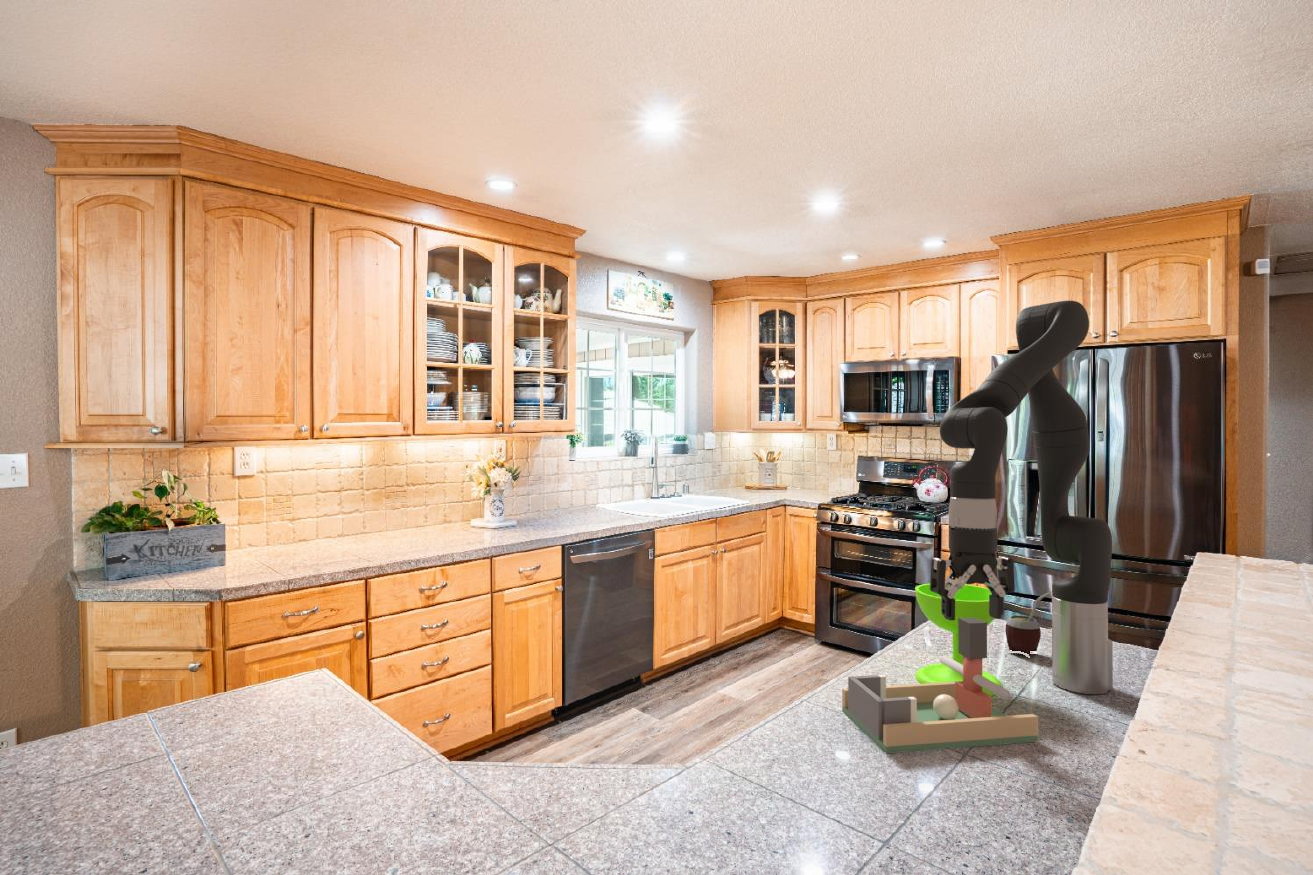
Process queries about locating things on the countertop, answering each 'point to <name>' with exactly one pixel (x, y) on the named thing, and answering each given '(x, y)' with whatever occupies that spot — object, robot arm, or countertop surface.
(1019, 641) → the mate gourd
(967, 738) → the pitch
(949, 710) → the ball
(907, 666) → the countertop surface
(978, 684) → the striker
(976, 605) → the wineglass
